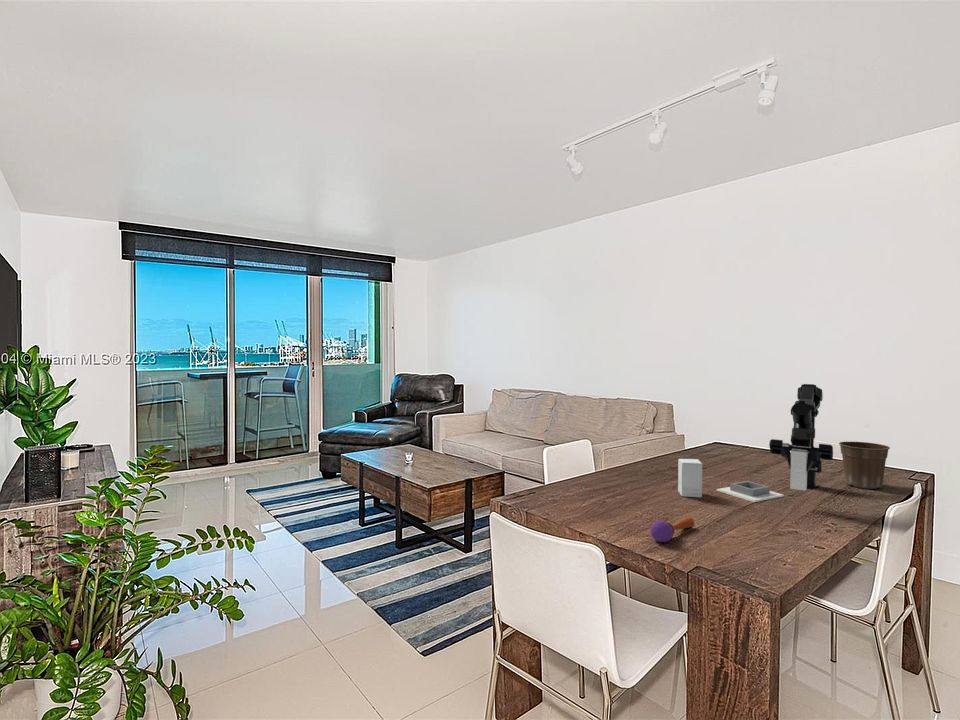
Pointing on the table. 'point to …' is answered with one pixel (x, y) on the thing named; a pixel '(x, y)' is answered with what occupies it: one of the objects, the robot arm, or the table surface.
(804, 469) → the square peg
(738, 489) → the dock board
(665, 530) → the kendama
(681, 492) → the supplement box
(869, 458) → the plant pot
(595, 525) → the table surface
